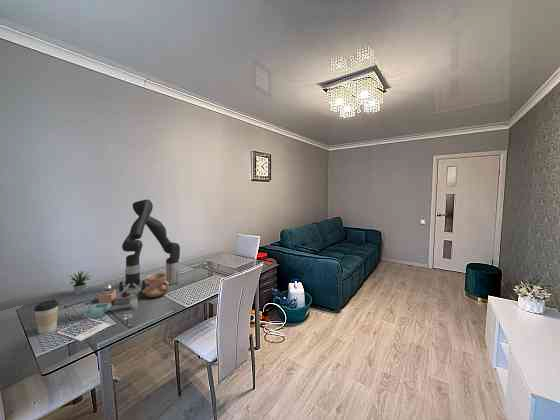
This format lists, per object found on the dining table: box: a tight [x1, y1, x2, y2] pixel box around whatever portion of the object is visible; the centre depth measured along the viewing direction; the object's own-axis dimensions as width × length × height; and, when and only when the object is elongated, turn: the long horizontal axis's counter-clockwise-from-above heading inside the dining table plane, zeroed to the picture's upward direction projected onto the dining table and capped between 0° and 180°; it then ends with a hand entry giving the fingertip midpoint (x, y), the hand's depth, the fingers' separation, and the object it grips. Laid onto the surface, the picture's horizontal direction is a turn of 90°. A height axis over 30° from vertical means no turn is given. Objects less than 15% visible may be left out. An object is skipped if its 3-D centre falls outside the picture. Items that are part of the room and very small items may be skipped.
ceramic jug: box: [144, 272, 170, 298], centre depth 163 cm, size 18×14×14 cm
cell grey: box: [103, 283, 113, 295], centre depth 152 cm, size 4×4×11 cm
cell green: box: [129, 291, 139, 311], centre depth 144 cm, size 4×4×11 cm
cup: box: [98, 289, 117, 304], centre depth 152 cm, size 7×7×6 cm
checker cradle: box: [113, 291, 132, 306], centre depth 154 cm, size 9×13×5 cm
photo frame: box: [56, 318, 111, 342], centre depth 121 cm, size 15×1×18 cm
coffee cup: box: [33, 299, 60, 335], centre depth 119 cm, size 9×9×15 cm
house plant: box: [66, 270, 94, 295], centre depth 162 cm, size 14×14×16 cm
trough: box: [82, 302, 112, 320], centre depth 138 cm, size 9×13×3 cm
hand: (132, 296), depth 143 cm, fingers open, 8 cm apart
